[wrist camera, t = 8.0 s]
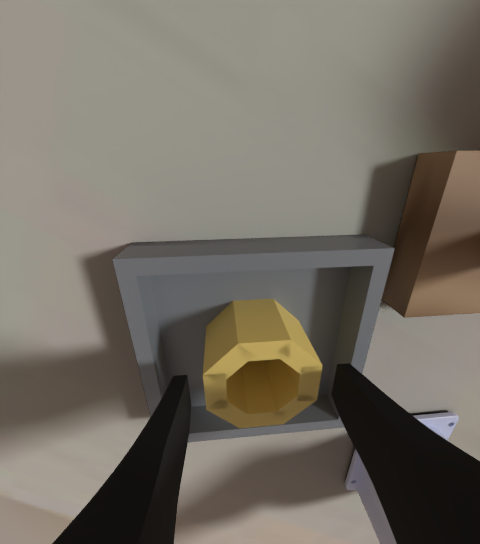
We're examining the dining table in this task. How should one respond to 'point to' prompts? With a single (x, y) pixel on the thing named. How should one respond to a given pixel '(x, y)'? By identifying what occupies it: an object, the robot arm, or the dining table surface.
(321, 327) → the tray
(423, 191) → the block
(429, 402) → the dining table surface
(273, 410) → the ring
